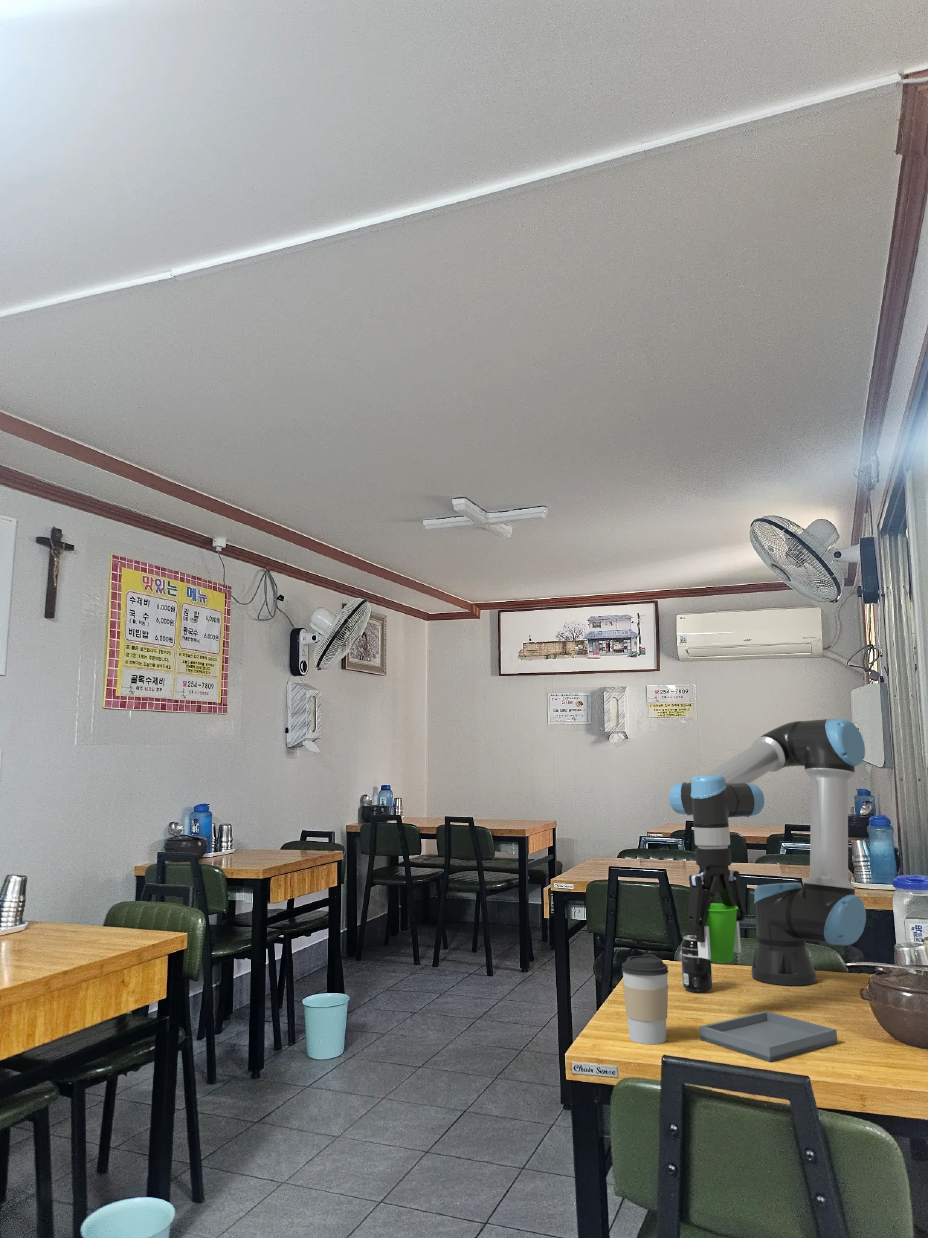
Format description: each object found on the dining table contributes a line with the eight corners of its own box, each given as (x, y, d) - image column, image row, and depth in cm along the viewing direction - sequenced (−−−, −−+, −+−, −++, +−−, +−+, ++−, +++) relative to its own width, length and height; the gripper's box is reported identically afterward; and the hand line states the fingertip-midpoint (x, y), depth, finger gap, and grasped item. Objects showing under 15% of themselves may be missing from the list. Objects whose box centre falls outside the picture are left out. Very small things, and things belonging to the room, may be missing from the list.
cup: (744, 965, 178) (740, 910, 180) (700, 964, 180) (696, 909, 182) (740, 955, 187) (736, 903, 189) (697, 955, 189) (693, 903, 191)
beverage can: (701, 986, 207) (699, 934, 209) (718, 993, 201) (715, 939, 203) (677, 988, 205) (674, 936, 207) (693, 995, 199) (690, 940, 201)
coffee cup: (662, 1049, 159) (658, 963, 162) (616, 1041, 164) (613, 958, 166) (677, 1037, 166) (674, 955, 169) (633, 1029, 171) (630, 950, 174)
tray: (766, 1023, 175) (765, 1011, 176) (837, 1043, 162) (836, 1029, 163) (699, 1039, 164) (699, 1026, 165) (770, 1062, 151) (769, 1047, 152)
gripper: (731, 842, 197) (739, 945, 193) (664, 849, 185) (671, 959, 181) (758, 844, 190) (767, 950, 187) (691, 851, 178) (699, 965, 175)
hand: (720, 954), depth 184 cm, fingers closed on cup, 9 cm apart
